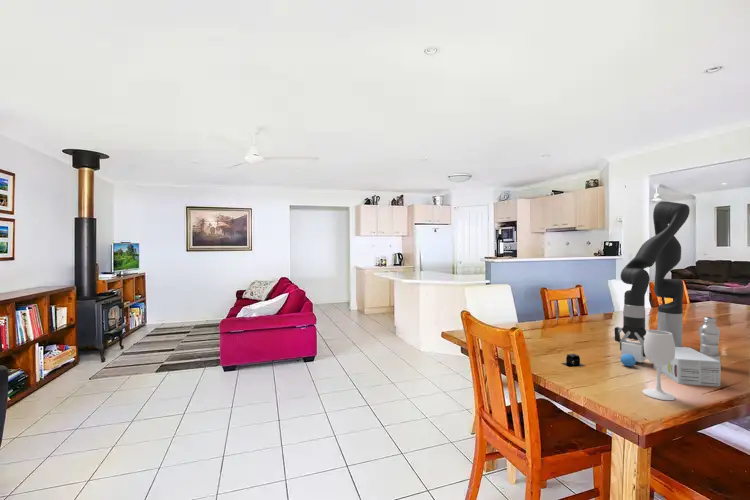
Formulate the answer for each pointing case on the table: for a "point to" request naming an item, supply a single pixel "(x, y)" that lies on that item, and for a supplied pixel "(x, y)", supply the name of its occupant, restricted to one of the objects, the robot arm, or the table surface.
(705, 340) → the plastic bottle
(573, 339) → the table surface
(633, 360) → the ball
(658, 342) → the wineglass
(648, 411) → the table surface
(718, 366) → the supplement box
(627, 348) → the smooth white box
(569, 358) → the black screwed bracket block
